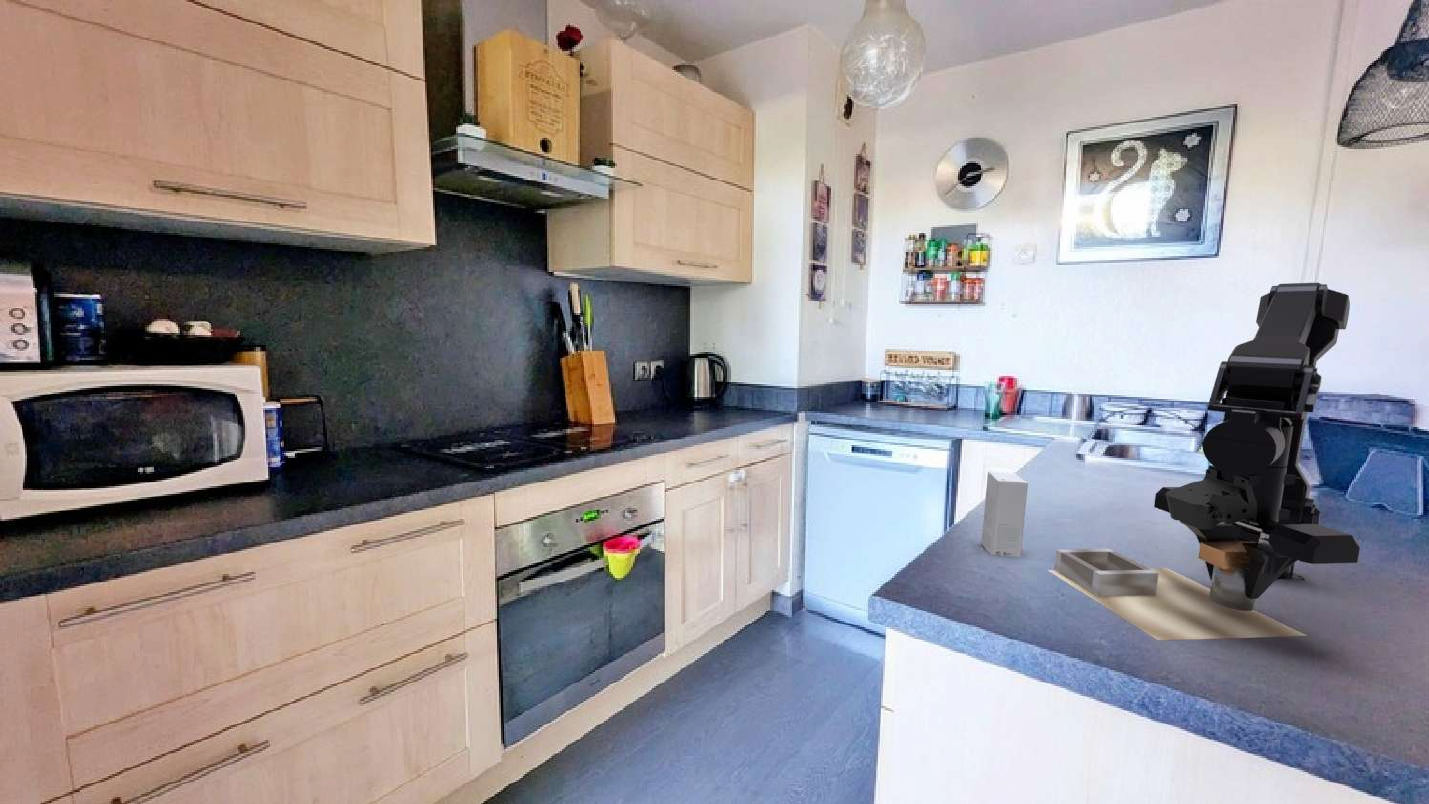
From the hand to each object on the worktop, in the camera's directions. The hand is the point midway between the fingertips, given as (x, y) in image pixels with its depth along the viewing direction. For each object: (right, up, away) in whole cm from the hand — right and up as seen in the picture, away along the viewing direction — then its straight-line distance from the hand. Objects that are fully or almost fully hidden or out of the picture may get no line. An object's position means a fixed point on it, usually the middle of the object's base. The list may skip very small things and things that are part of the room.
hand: (1233, 589), depth 68 cm
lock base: (-5, -3, +4) cm, 7 cm away
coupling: (0, -2, 0) cm, 2 cm away
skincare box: (-18, -1, +20) cm, 27 cm away
